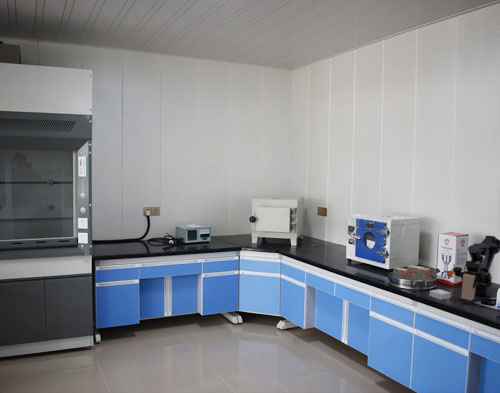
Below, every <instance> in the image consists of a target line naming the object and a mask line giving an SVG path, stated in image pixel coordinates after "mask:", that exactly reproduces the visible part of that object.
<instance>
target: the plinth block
mask: <svg viewBox="0 0 500 393" xmlns="http://www.w3.org/2000/svg"><path fill="white" fill-rule="evenodd" d="M429 296H430V297H432V298H435V299H438V300H442V299H443V300H449V299H451V298H452V292H449V291H447V290H444V289H433V290H429Z"/></svg>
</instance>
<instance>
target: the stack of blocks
mask: <svg viewBox="0 0 500 393" xmlns="http://www.w3.org/2000/svg"><path fill="white" fill-rule="evenodd" d="M393 277H395V278H399V279H410V280H422V281H424V282H425V283H424V284H425V288H426V285H427V282H428V281H429V280H430V281H431V268H430V267H426V266H419V265H413V264H410V265H408V266H407V267H406V268H405V267H398V266H397V267H393V269H392V278H393Z"/></svg>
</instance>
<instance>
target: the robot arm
mask: <svg viewBox="0 0 500 393" xmlns="http://www.w3.org/2000/svg"><path fill="white" fill-rule="evenodd" d="M467 251H468V254H469V257H470V258H471V259H470V260H465V265H464V266H465V267H466V268H465V269H463V267H459V266H455V267H453V269H452V271H453V274H454V275H455V276H456V277H459V278H460V279H461V285H462V284H463V275H464V274H466V273H467V274H472V275H476V280H475V282H474V284H473V288H475V295H474V296H479V297H482V298H485V297H490V296H491V295H490V294H488V291H489V287H492V284H493V283H492V278H493V277H492V274H491V272H490V269H491V267H492V264H493V260H494V258H495V255H497V254H499V253H500V239H498V238H497V237H496V236H495V235H486V236H485V238H484V239H482V240H481V242H480V243H473V244H471V245H469V246H468V247H467Z"/></svg>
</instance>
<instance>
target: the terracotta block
mask: <svg viewBox="0 0 500 393" xmlns="http://www.w3.org/2000/svg"><path fill="white" fill-rule="evenodd" d="M475 280H476V275H472V274H467V273H466V274H464V275H463V284H462V283H461V286H462V287H461V296H460V297H461V299H464V300H468V301H473V300H474V299H475V296H476V295H475V292H476V287H475V288H473V284H474V282H475Z"/></svg>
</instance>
